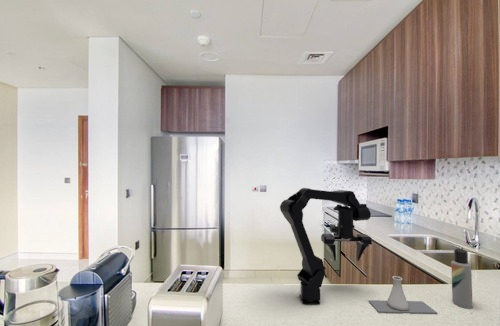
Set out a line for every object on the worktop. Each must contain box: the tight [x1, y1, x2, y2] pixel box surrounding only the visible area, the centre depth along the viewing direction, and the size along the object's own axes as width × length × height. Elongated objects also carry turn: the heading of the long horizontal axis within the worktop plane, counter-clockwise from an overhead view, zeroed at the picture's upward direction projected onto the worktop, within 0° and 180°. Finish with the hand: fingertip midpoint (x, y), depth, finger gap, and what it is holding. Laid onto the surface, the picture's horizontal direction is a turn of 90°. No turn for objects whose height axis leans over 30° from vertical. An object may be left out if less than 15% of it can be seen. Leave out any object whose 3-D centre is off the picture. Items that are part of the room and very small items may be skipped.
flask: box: [386, 275, 409, 310], centre depth 91 cm, size 7×7×10 cm
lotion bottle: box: [450, 248, 473, 309], centre depth 94 cm, size 6×6×20 cm
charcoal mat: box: [368, 299, 438, 315], centre depth 91 cm, size 20×8×1 cm, turn 89°
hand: (346, 260), depth 102 cm, fingers open, 9 cm apart
